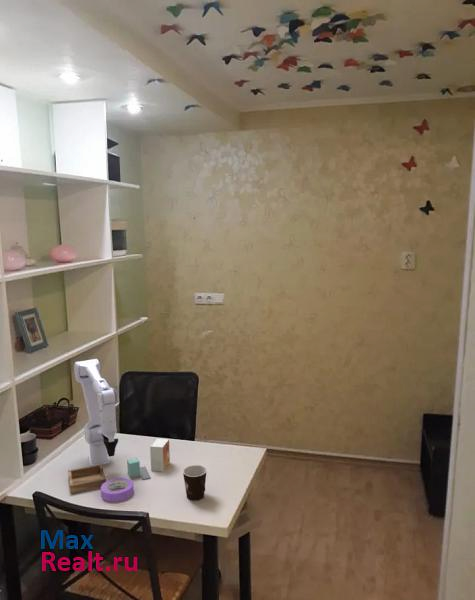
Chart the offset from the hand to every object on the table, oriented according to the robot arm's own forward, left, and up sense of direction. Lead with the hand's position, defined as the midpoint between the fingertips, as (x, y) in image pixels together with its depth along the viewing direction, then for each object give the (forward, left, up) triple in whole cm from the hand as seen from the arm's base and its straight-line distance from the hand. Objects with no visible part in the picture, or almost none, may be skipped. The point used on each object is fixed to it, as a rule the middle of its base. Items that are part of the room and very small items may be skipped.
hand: (110, 451), depth 191 cm
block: (+4, +8, -10) cm, 13 cm away
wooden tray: (+2, -9, -10) cm, 14 cm away
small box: (+1, +20, -10) cm, 22 cm away
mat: (+4, +9, -10) cm, 14 cm away
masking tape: (+16, 0, -10) cm, 19 cm away
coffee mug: (+30, +26, -10) cm, 41 cm away
